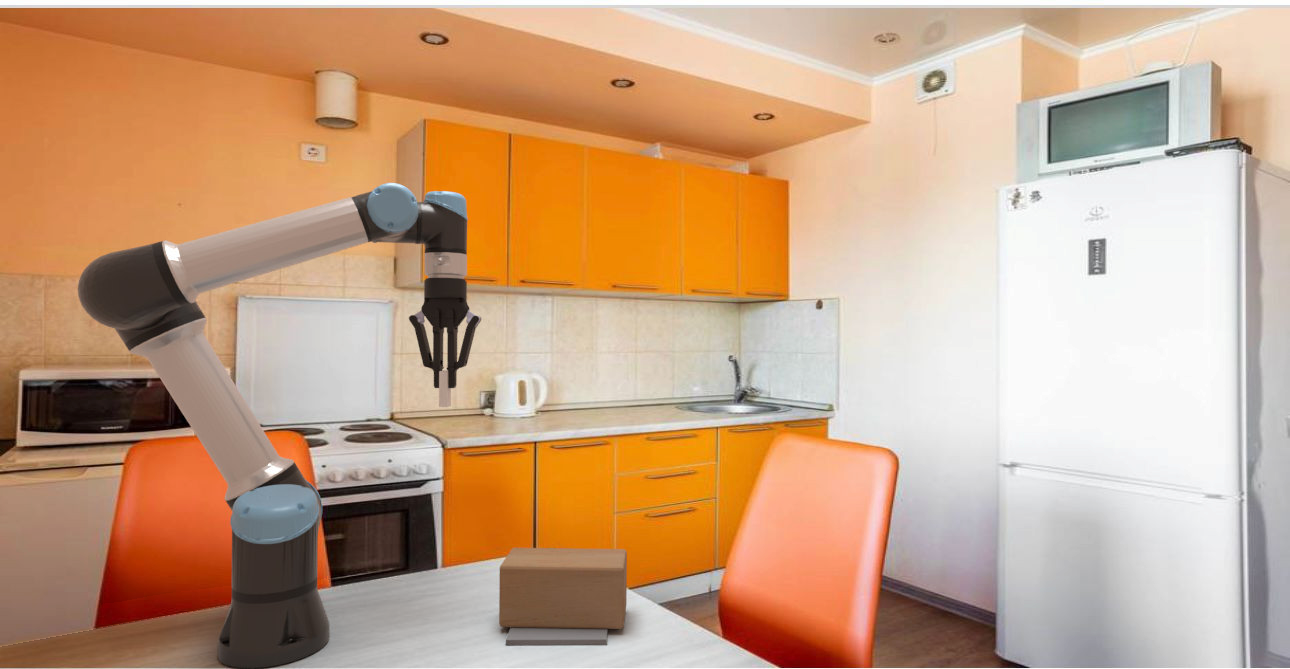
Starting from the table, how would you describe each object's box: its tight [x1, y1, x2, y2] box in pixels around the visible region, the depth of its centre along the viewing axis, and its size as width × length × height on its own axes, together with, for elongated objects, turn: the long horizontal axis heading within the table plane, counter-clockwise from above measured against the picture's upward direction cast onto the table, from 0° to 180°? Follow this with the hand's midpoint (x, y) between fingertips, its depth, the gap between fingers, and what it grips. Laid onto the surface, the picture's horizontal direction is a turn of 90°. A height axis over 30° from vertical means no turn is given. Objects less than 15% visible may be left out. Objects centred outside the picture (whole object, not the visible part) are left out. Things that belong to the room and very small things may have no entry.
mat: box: [505, 627, 608, 646], centre depth 120 cm, size 16×20×1 cm
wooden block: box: [498, 547, 628, 630], centre depth 119 cm, size 10×10×20 cm
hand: (445, 406), depth 132 cm, fingers closed
